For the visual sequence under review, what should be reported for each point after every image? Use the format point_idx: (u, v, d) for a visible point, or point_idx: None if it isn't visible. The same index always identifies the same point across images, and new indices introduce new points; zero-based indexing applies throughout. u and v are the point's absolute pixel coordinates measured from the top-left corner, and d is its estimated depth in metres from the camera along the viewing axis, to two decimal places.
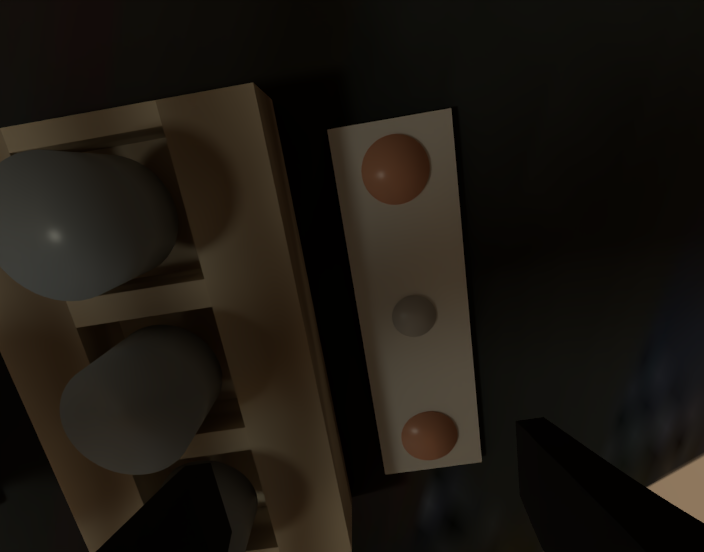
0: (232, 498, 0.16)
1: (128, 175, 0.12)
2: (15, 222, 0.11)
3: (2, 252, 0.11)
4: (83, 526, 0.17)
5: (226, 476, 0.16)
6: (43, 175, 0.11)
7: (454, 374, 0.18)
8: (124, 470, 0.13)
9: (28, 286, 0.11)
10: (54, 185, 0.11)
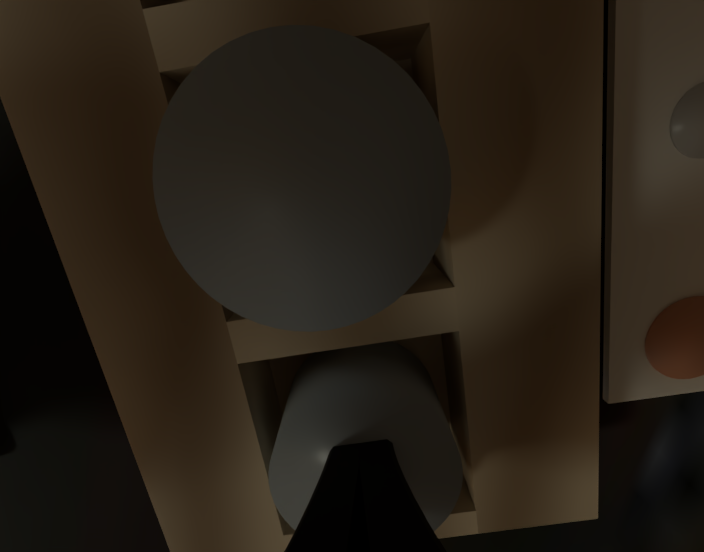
0: (425, 381, 0.10)
1: None
2: None
3: None
4: (150, 475, 0.10)
5: (404, 354, 0.10)
6: None
7: None
8: (282, 321, 0.06)
9: None
10: None
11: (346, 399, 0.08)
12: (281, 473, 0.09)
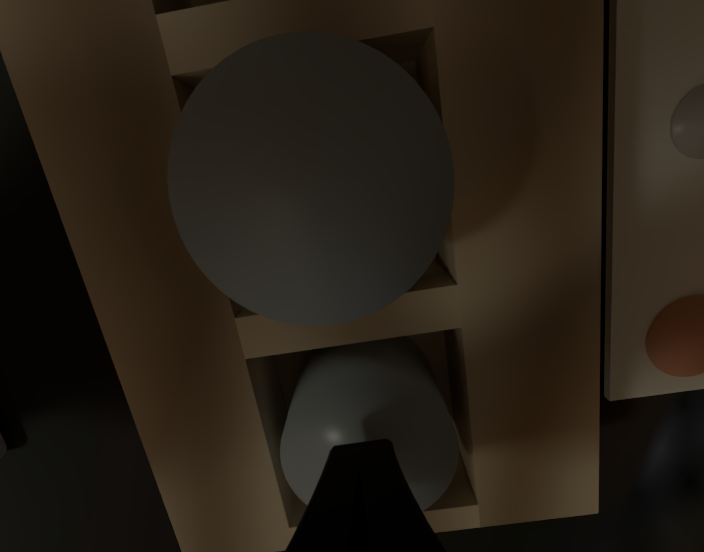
0: (425, 367, 0.10)
1: None
2: None
3: None
4: (160, 467, 0.10)
5: (405, 343, 0.11)
6: None
7: None
8: (291, 316, 0.06)
9: None
10: None
11: (352, 380, 0.09)
12: (291, 449, 0.09)
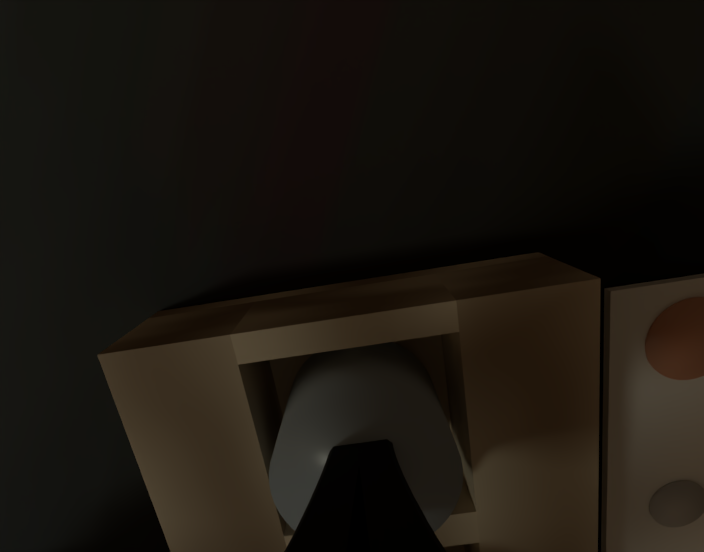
0: None
1: (427, 389, 0.09)
2: (316, 474, 0.09)
3: (290, 504, 0.09)
4: None
5: None
6: (365, 423, 0.08)
7: None
8: None
9: None
10: (375, 434, 0.08)
11: None
12: None
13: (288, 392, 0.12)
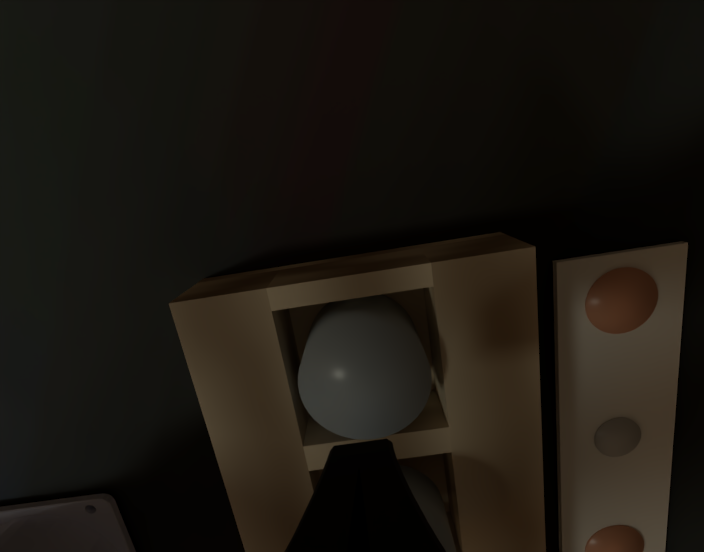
0: None
1: (408, 324, 0.13)
2: (330, 377, 0.12)
3: (312, 400, 0.13)
4: None
5: None
6: (364, 340, 0.12)
7: (649, 491, 0.18)
8: None
9: (330, 428, 0.13)
10: (371, 348, 0.12)
11: None
12: None
13: (305, 342, 0.15)
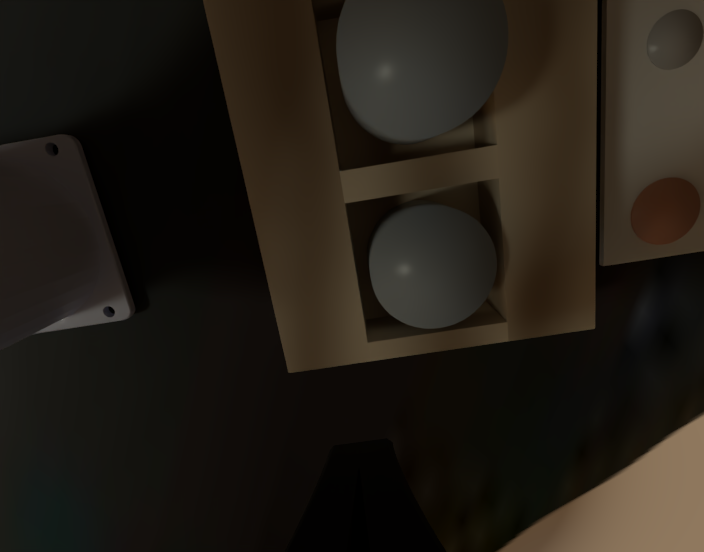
0: None
1: None
2: None
3: None
4: (276, 292, 0.14)
5: None
6: None
7: None
8: (404, 129, 0.10)
9: None
10: None
11: (424, 209, 0.13)
12: (379, 265, 0.13)
13: None
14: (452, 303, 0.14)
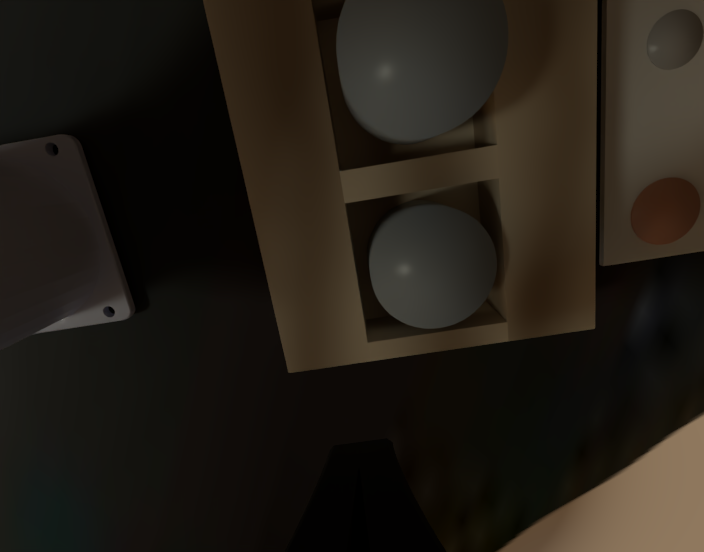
0: None
1: None
2: None
3: None
4: (276, 292, 0.14)
5: None
6: None
7: None
8: (404, 129, 0.10)
9: None
10: None
11: (424, 209, 0.13)
12: (379, 265, 0.13)
13: None
14: (452, 303, 0.14)
